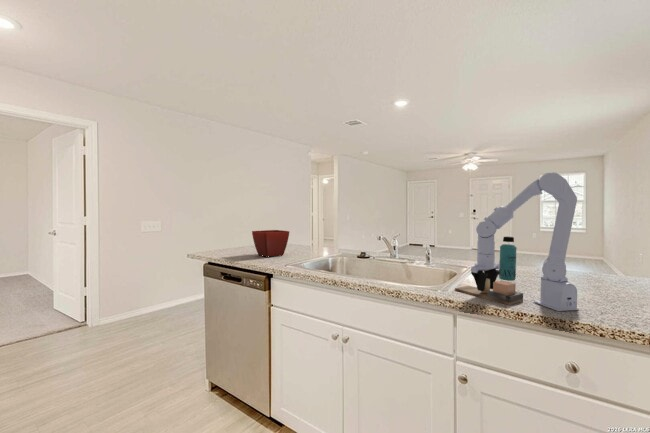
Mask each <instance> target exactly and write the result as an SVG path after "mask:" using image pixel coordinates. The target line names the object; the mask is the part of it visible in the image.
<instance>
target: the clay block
mask: <svg viewBox="0 0 650 433" xmlns="http://www.w3.org/2000/svg"><path fill="white" fill-rule="evenodd" d="M516 286H517V285H516V283H514V282H512V281H511V282H510V281H507V280H497V281H495V282H493V289H492V290H491V289H490V279H489V278H486V281H485V289H484V291H481V292H482V293H488V291H492V292H496V293H500V294H504V295H512V294H515V291H516V290H517V288H516Z"/></svg>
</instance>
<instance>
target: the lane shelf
mask: <svg viewBox="0 0 650 433" xmlns="http://www.w3.org/2000/svg"><path fill="white" fill-rule="evenodd" d="M454 291H456V292H460V293H464V294H468V295H470V296H475V297H479V298H483V299H486V300H489V301H493V302H495V303H496V302H497V303H500V304H504V305H507V306H510V305H511V306H512V305H515V304H518V303H522V302H523V301H524V293H523V292H518V291H516V290H515V294H512V295H504V294H500V293H496V292H492V291H493V290H490V291H488V293H482V292H481V291H479V290H478V289H477V286H473V285H468V284H467V285H463V286H458V287H455V288H454Z"/></svg>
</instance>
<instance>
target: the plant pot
mask: <svg viewBox="0 0 650 433" xmlns="http://www.w3.org/2000/svg"><path fill="white" fill-rule="evenodd" d="M251 233H252V239H253V244H254V248H255V251H256V254H257V256H259V255H263V256H267V257H266V258H269V257H268V256H275V257H280V256H279V255H283V256H284V254H285V251H286V248H287V245H288V240H289V236H290V231H289V230H282V229H281V230H279V229H269V230H252V231H251ZM263 256H262V257H263Z"/></svg>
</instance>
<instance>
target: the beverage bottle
mask: <svg viewBox="0 0 650 433" xmlns="http://www.w3.org/2000/svg"><path fill="white" fill-rule="evenodd" d="M502 242H505V243H503V244H501V245H500V246H499V261H498V264H500V269H498V270H500V274H499V275H498V278H499V280H501V281H506V282H510V281H511V282H513V281H515V280H516V279H517V249H518V248H517V246H516V245H515V244H509V243H514V242H515V238H514V237H513V236H503V238H502Z"/></svg>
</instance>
